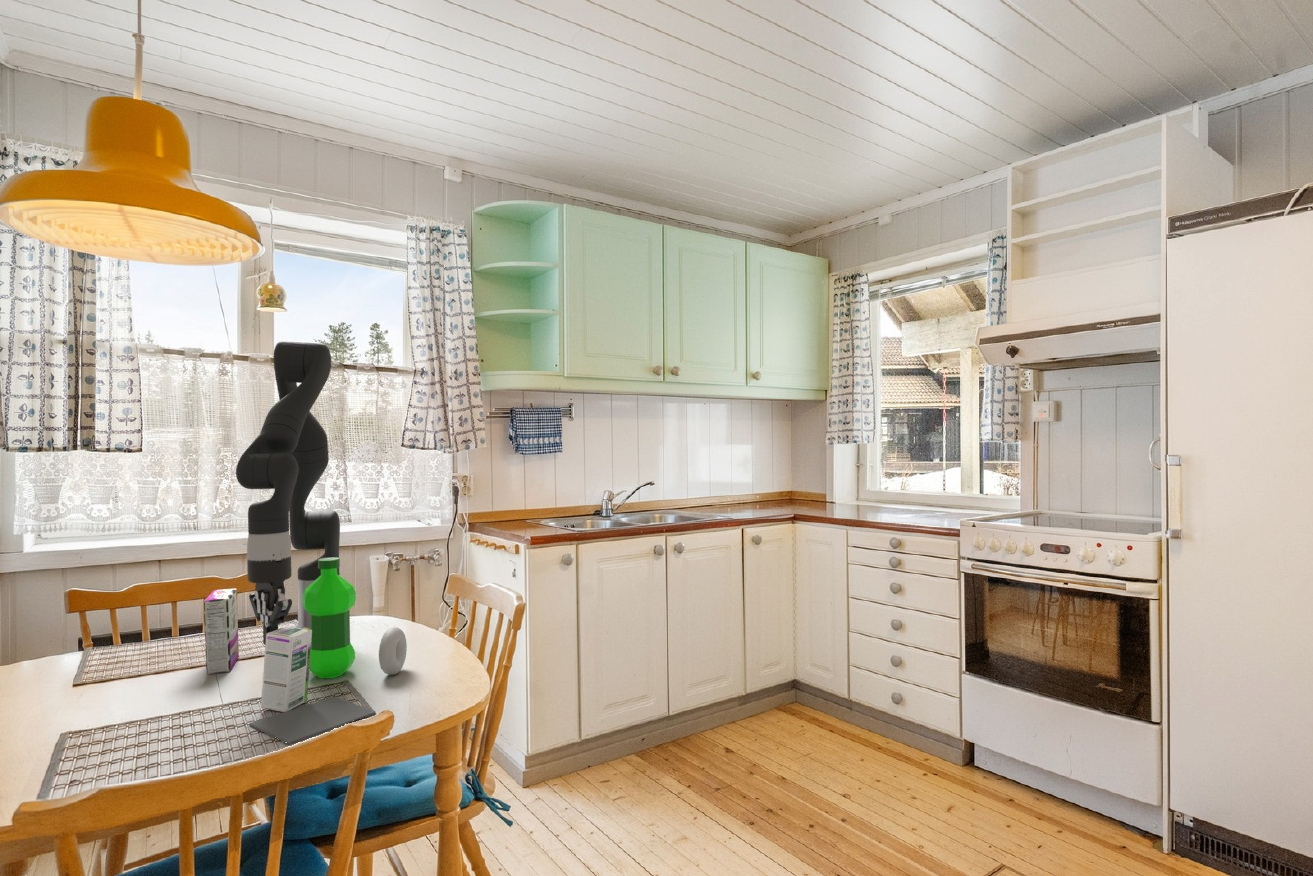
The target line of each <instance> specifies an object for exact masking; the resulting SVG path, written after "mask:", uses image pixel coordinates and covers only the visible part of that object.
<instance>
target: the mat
mask: <svg viewBox="0 0 1313 876" xmlns="http://www.w3.org/2000/svg"><path fill="white" fill-rule="evenodd" d="M373 715H376V711H374V710H371V709H369V708H367V707H364V706H361V705H359V704H356V703H354V702H351V701H348V700H346V699H344V698H341V697H338V696H336V695H333V696H330V697H327V698H324V699H322V700H318V701H315V702H312V703H309V704H305V705H302V706H299V707H295V708H293V709H291V710H289V711H286V712H281V713H278V714H277V713H276V714H274V715H271V716H268V717H265V718H262V719H259V720H258V719H257V720H255V721H252V722H249V724H248V725H249V727H252V728H253V729H255V728H256V729H255V730H257V729H258V730H257V731H259V730H260V731H259V732H261V731H262V733H263V732H265V733H266V734H265V733H264V734H265V735H267V734H268V736H269V735H270V737H271V736H272V738H273V737H276V738H278V739H279V740H282V741H284V742H287V743H288V744H286V745H287V746H290V745H292V744H296V743H298V742H300V741H304V740H306V739H309V738H311V737H312V738H313V737H315V736H317V735H320V734H323V733H326V732H329V731H331V730H330V729H332V728H335V729H337V728H339V727H338V726H340V727H342V726H341V725H343V726H345V725H344V724H345V723H349V722H351V723H353V722H352V721H353V720H357V719H360V720H363V719H365V718H368V717H371V716H373ZM364 717H365V718H364ZM362 718H363V719H362ZM357 721H358V720H357ZM349 724H350V723H349ZM336 727H337V728H336ZM332 730H333V729H332ZM322 732H323V733H322ZM308 737H309V738H308ZM279 740H278V741H279Z"/></svg>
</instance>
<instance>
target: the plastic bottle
mask: <svg viewBox="0 0 1313 876" xmlns="http://www.w3.org/2000/svg"><path fill="white" fill-rule="evenodd" d="M340 562H341V561H340V557H339V558H336V557H331V558H322V559H319V560H318V568H319V569H321V576H320V577H318V578H317V579H316V580H315V581H314V582H313V583H312V584H311V585H310V586H308V587H307V588H306V589H305V591H304V594H303V605H304V608H305V610H306V611H307V612H308V613H309V614H310V629H311V630H312V638H311V651H310V665H309V672H311V673H312V674H314V675H315V676H316V677H317V678H318V679H323V678H327V679H334V678H337V677H341V676H343V675H344V674H343V673H345V672H346V671H347V670H348V669H350V668H351V667H352V665H353V663H354V662H355V659H356V652H355V649H354V646H353V645H352V644H351V625H350V623H351V620H350V619H351V617H350V615H351V614H350V610H351V609H352V608H353V607H354V606H355V604H356V597H357V596H356V595H357V593H356V589H355V587H354V586H353V585H352V584H350V582H349V581H347V580H346V579H345V578H343V577H342V576H341V575H338V574H337V568H338V567H339V568H340V567H341V566H340V565H341V564H340Z"/></svg>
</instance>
